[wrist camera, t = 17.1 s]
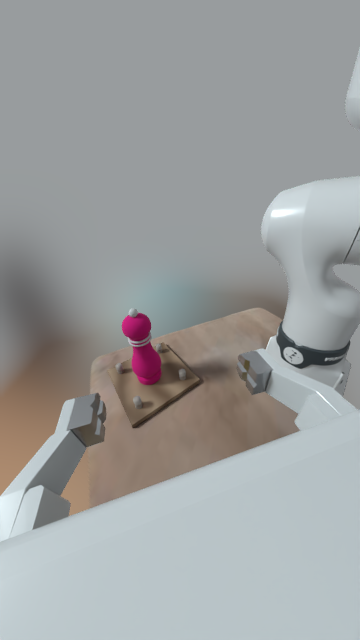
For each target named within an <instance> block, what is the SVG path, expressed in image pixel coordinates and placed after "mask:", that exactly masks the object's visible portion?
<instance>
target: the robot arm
mask: <svg viewBox="0 0 360 640" xmlns="http://www.w3.org/2000/svg"><path fill="white" fill-rule="evenodd" d="M345 112H346V117H347V119H348V121H349V123H350V125H352V126H353V127H354V128H355V129H356V130H358V131H360V48H359V52H358V56H357V60H356V63H355V67H354V70H353V74H352V78H351V82H350V85H349V89H348V93H347V96H346V102H345ZM261 237H262V241H263V244H264V246H265V248H266V249H267V251H268V252H269V253H270V254H271V255H272V256H274V257H275V259H276V260H277V261H278V262H279V264H280V265H281V267H282V269H283V270H284V273H285V275H286V278H287V281H288V286H289V297H288V303H287V308H286V313H285V317H284V320H283V321H282V322H281V323H280V326H279V328H278V330H277V335H275V336H273V337H271V338H270V340H269V342H268V345H267V348H266V350H264V349H258V350H255V351H250V352H247V353H243V354H240V355H239V356H238V360H239V363H238V364H237V372H238V374H239V376H240V378H241V379H242V380H244V381H246V387H247V388H248V390H249V391H250V393H251V394H252V395H254V394H257V393H261V392H265V391H266V393H268V394H269V395H271V396H272V397H274V398H275V399H277V400H278V401H280V402H281V403H283V404H284V405H286V406H287V407H289V408H290V409H292V410H294V411H295V412H297V413H298V416H297V418H296V419H295V424H296V425H297V427H298V428H299V429H300V430H301V431H298V432H296V433H293V434H290V435H288V436H285V437H282V438H279V439H277V440H274V441H271V442H269V443H266V444H263V445H261V446H258V447H255V448H252V449H250V450H247V451H244V452H242V453H239V454H236V455H234V456H231V457H228V458H225V459H223V460H220V461H217V462H215V463H212V464H209V465H206V466H204V467H201V468H198V469H196V470H193V471H190V472H188V473H185V474H182V475H179V476H177V477H174V478H171V479H169V480H166V481H163V482H161V483H158V484H155V485H152V486H150V487H147V488H144V489H142V490H139V491H136V492H133V493H131V494H128V495H125V496H123V497H120V498H117V499H115V500H112V501H109V502H106V503H104V504H101V505H98V506H96V507H93V508H90V509H88V510H85V511H82V512H79V513H77V514H74V515H71V516H69V510H70V502H69V501H68V500H66V499H64V498H62V497H61V496H60V495H61V493H62V492H63V490H64V488H65V486H66V484H67V482H68V481H69V479H70V477H71V475H72V474H73V472H74V470H75V468H76V467H77V465H78V463H79V461H80V459H81V458H82V456H83V454H84V452H85V450H86V447H89V446H92V445H95V444H98V443H101V442H104V436H105V427H104V425H103V423H104V421H105V420H106V407H105V404H104V402H103V401H101V400H100V395H99V393H95V394H91V395H87V396H83V397H79V398H74V399H71V400H67V401H66V402H65V403H64V405H63V408H62V411H61V415H60V418H59V421H58V425H57V428H56V431H55V434H54V435H52V436H50V438H49V439H48V440H47V441H46V442H45V444H44V445H43V446H42V447H41V448H40V449H39V451H38V452H37V453H36V454H35V456H34V457H33V458H32V459H31V460H30V461H29V463H28V464H27V465H26V466H25V468H24V469H23V470H22V471H21V472H20V473H19V475H18V476H17V477H16V478H15V479H14V481H13V482H12V483H11V484H10V485H9V486H8V488H7V489H6V490H5V491H4V493H3V494H2V495H1V496H0V640H360V409H358V410H357V409H356V408H355V407H354V406H353V405H351V404H350V403H349V402H348V401H347V400H346V399H345V398H343V394H344V390H345V387H346V382H347V379H348V374H349V371H350V367H351V364H350V363H349V362H348V361H347V360H346V355H347V352H348V349H349V346H350V339H351V337H352V335H353V334H354V332H355V330H356V329H357V327H358V325H359V324H360V292H359V291H358V290H357V289H355V288H354V287H353V286H351V285H350V284H348V283H346V282H344V281H342V280H341V279H340V278H339V277H337V276H336V275H335V273H334V271H333V266H334V265H337V264H342V263H343V264H352V265H360V176H354V177H346V178H337V179H327V180H318V181H314V182H310V183H307V184H304V185H300V186H297V187H293V188H290V189H288V190H284V191H282V192H281V193H279V194H278V195H277V196H276V197H275V199H274V200H273V201H272V202H271V204H270V205H269V207H268V209H267V210H266V212H265V215H264V217H263V220H262V225H261ZM68 516H69V517H68Z"/></svg>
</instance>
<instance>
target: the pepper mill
mask: <svg viewBox="0 0 360 640" xmlns="http://www.w3.org/2000/svg"><path fill="white" fill-rule="evenodd" d="M122 330H123V333H124V334H125V336H127V337H128V341H129V344H130V345H131V346H133V357H132V369H133V372H134V373H135V374H136V375H137V378H138V380H139V382H140V383H141V384H144V385H151V384H154V383H156V382H157V381H158V380H159V379H160V378H161V375H162V371H161V358H160V356H159V354H158V353H157V352H156V351H155V350H154V349H153V347H152V346H151V343H150V340H151V333H150V330H151V322H150V320H149V318H148V317H147V316H146V315H144V314H142V313H138V312H137V310H136V309H130V310H129V315H128V316H127V317H126V318H125V319H124V320H123V322H122Z"/></svg>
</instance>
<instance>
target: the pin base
mask: <svg viewBox="0 0 360 640" xmlns="http://www.w3.org/2000/svg"><path fill="white" fill-rule="evenodd" d="M153 349H154V350H155V351H156V352H157V353H158V354H159V356H160V358H161V371H162V375H161V378H160V379H159V380H158V381H157V382H156V383H154V384H151V385H144V384H141V383H140V382H139V380H138V378H137V375H136V374H135V373H134V372H133V369H132V358H131V359H129V360H127V361H125V362H123V363H118V364H116V366H115V367H113V368H111V369H109V370H107V372H108V374H109V376H110V378H111V381H112V383H113V385H114V387H115V389H116V392H117V394H118V396H119V398H120V401H121V403H122V405H123V407H124V409H125V412H126V414H127V416H128V418H129V421H130V423H131V425H132V427H133V428H134V427H136V426H137V425H139V424H140V423H142V422H143V421H144V420H146V419H147V418H149V417H150V416H152V415H153V414H155V413H156V412H158V411H159V410H160V409H162V408H163V407H165V406H166V405H168V404H169V403H171V402H172V401H174V400H175V399H176V398H178V397H179V396H181V395H182V394H184V393H185V392H187V391H188V390H189V389H191V388H192V387H194V386H195V385H197V384H198V383H200V379H199V378H198V377H197V376H196V375H195V374H194V373H193V372H192V371H191V370H190V369H189V368H188V367H187V366H186V365H185V364H184V363H183V362H182V361H181V360H180V359H179V358H178V357H177V356H176V355H175V354H174V353H173V352H172V351H171V350H170V349H169V348H168V347H167V346H166V345H165V344H164V343H161V344H156V346H155V347H153Z"/></svg>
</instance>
